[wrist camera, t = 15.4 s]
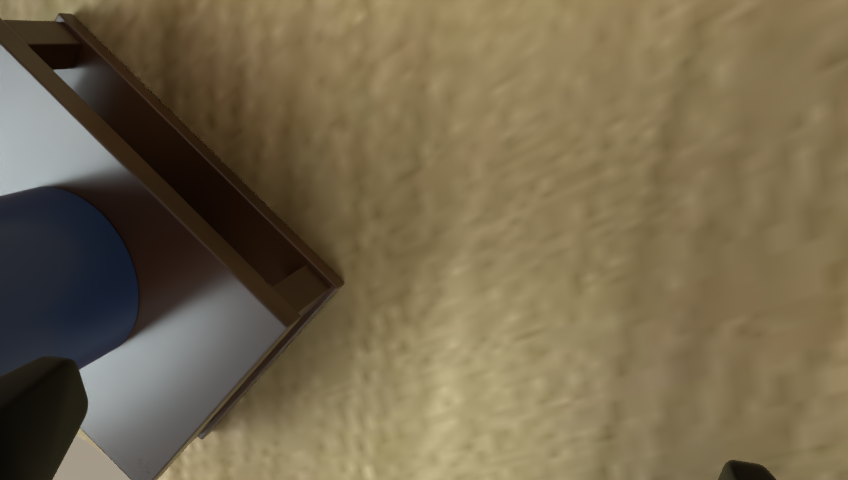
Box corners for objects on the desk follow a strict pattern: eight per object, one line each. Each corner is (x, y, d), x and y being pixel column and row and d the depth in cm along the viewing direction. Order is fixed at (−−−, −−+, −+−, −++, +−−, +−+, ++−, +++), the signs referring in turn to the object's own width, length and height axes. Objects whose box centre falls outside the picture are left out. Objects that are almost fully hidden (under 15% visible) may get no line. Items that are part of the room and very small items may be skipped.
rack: (345, 282, 23) (288, 327, 20) (210, 432, 27) (142, 492, 24) (71, 12, 24) (-34, 8, 20) (-20, 201, 28) (-121, 225, 24)
